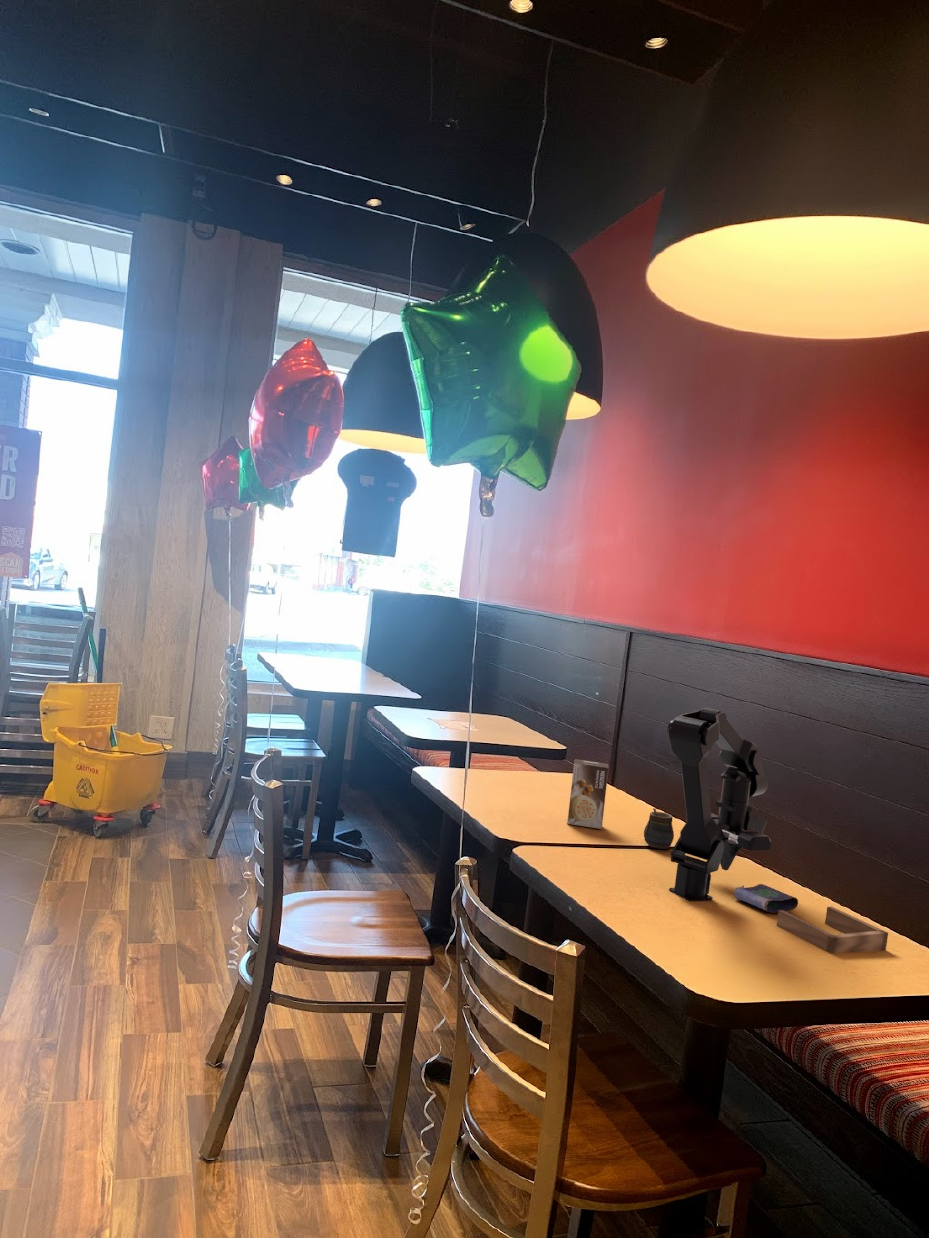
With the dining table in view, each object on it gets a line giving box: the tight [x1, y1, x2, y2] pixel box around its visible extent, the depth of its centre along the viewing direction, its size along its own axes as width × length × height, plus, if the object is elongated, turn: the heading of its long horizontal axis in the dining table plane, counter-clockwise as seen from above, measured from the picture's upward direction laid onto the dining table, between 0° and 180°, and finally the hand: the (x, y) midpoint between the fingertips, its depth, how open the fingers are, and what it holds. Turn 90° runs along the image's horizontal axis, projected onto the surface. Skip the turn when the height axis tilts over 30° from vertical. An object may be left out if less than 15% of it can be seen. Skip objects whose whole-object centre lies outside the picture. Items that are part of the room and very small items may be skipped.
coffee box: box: [566, 758, 610, 830], centre depth 239 cm, size 9×6×16 cm
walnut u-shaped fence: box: [776, 906, 889, 955], centre depth 174 cm, size 14×13×4 cm
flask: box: [733, 883, 799, 914], centre depth 189 cm, size 9×3×11 cm
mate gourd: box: [643, 807, 675, 850], centre depth 226 cm, size 7×8×10 cm
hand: (725, 869), depth 200 cm, fingers closed
